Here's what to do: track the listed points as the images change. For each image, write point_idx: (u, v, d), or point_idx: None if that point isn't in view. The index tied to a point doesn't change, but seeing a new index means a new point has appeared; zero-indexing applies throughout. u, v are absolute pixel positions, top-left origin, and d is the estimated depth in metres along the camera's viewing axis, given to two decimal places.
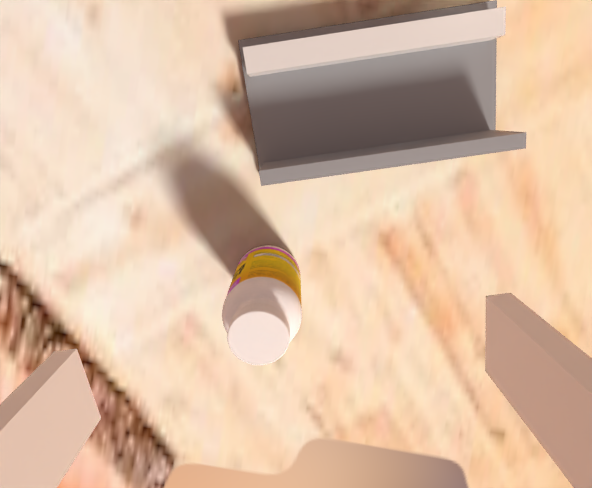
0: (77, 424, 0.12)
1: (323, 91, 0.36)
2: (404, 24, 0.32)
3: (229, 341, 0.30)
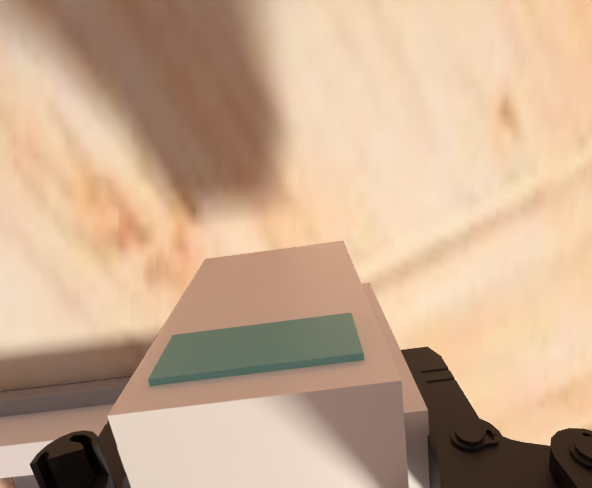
0: None
1: None
2: None
3: None
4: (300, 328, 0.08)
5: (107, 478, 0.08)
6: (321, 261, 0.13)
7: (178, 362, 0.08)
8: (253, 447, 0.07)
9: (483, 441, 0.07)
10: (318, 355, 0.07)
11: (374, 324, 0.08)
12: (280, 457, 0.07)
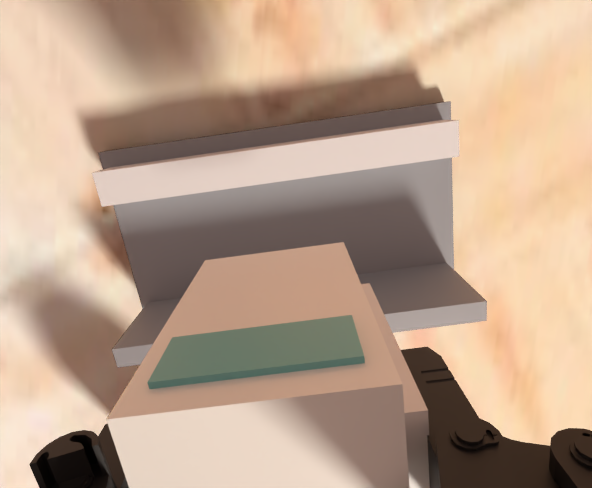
0: None
1: (220, 216, 0.26)
2: (317, 143, 0.23)
3: None
4: (300, 330, 0.08)
5: (107, 478, 0.08)
6: (322, 263, 0.12)
7: (178, 365, 0.08)
8: (253, 450, 0.07)
9: (483, 441, 0.07)
10: (318, 358, 0.07)
11: (375, 326, 0.08)
12: (281, 461, 0.07)
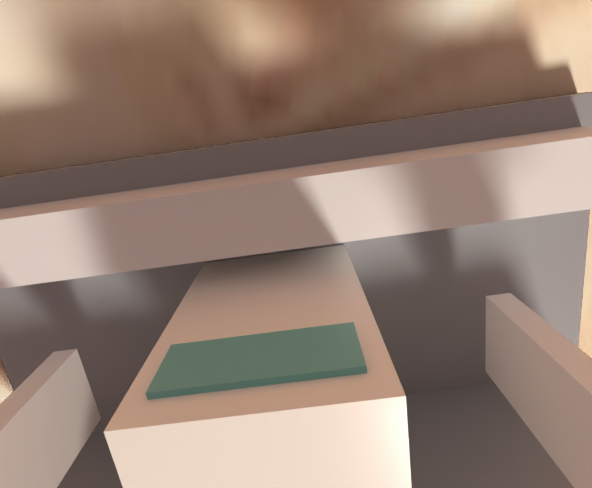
0: (77, 424, 0.12)
1: (163, 300, 0.15)
2: (345, 177, 0.11)
3: None
4: (301, 338, 0.08)
5: None
6: (323, 267, 0.12)
7: (177, 375, 0.08)
8: (253, 462, 0.07)
9: None
10: (320, 368, 0.07)
11: (377, 334, 0.08)
12: (282, 473, 0.07)
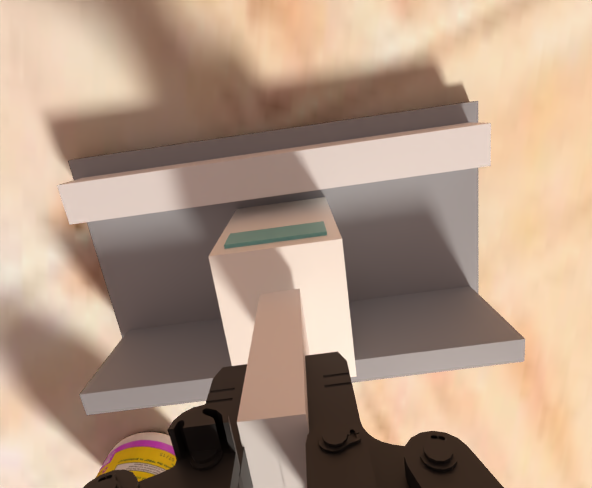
0: None
1: (210, 233, 0.23)
2: (322, 150, 0.19)
3: None
4: (296, 227, 0.17)
5: (234, 456, 0.08)
6: (310, 206, 0.21)
7: (237, 240, 0.16)
8: (274, 273, 0.15)
9: (347, 441, 0.08)
10: (305, 234, 0.16)
11: (334, 225, 0.17)
12: (287, 278, 0.15)
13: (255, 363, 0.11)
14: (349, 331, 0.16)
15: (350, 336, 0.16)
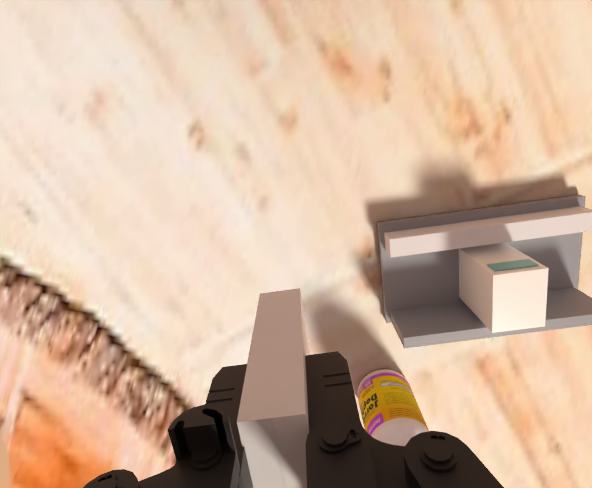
0: None
1: (442, 260, 0.45)
2: (517, 223, 0.41)
3: None
4: (519, 261, 0.38)
5: (234, 456, 0.08)
6: (504, 248, 0.42)
7: (497, 267, 0.38)
8: (518, 282, 0.37)
9: (347, 441, 0.08)
10: (528, 265, 0.37)
11: (535, 261, 0.38)
12: (523, 284, 0.37)
13: (255, 363, 0.11)
14: (545, 306, 0.38)
15: (545, 308, 0.38)
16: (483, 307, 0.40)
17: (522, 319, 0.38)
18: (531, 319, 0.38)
